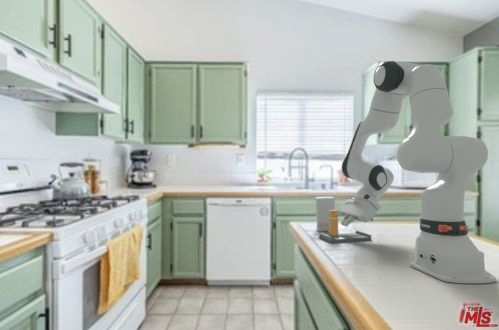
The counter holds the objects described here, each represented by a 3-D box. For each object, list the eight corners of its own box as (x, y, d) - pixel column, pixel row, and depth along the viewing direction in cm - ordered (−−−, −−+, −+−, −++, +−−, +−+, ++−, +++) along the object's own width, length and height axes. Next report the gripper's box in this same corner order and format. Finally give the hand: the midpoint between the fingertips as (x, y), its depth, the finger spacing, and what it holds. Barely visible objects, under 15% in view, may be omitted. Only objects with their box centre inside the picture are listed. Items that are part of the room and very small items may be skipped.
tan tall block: (335, 235, 145) (334, 209, 145) (339, 236, 141) (339, 210, 141) (327, 235, 144) (327, 209, 144) (331, 237, 140) (331, 211, 140)
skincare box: (333, 229, 166) (333, 196, 166) (335, 231, 159) (335, 197, 159) (315, 229, 167) (315, 196, 166) (317, 231, 160) (316, 197, 160)
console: (357, 235, 151) (357, 230, 151) (371, 240, 141) (371, 234, 141) (319, 238, 146) (319, 232, 146) (330, 243, 137) (330, 237, 137)
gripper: (346, 193, 155) (326, 216, 153) (373, 197, 136) (351, 223, 133) (355, 202, 157) (336, 225, 154) (384, 208, 137) (362, 234, 134)
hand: (343, 224), depth 144 cm, fingers closed
